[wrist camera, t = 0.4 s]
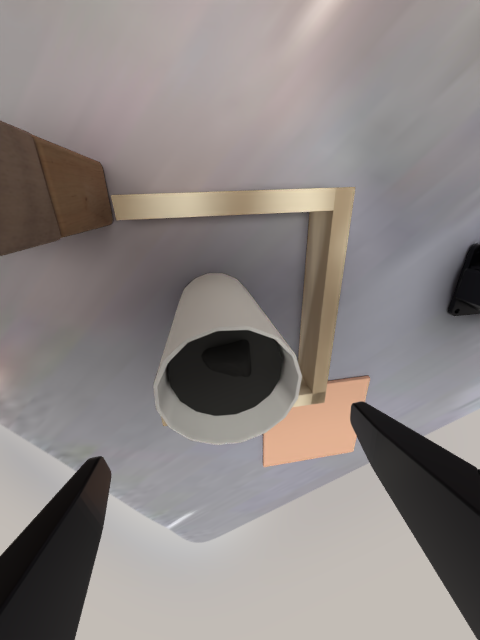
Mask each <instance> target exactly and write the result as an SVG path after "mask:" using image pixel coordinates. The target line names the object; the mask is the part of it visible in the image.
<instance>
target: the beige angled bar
mask: <svg viewBox="0 0 480 640" xmlns="http://www.w3.org/2000/svg"><path fill="white" fill-rule="evenodd" d="M354 194H355V187H344V188H313V189H283V190H253V191H223V192H192V193H162V194H132V195H111V199H112V203H113V207H114V212H115V216H116V220H134V219H156V218H178V217H201V216H223V215H245V214H267V213H289V212H309V225H308V238H307V251H306V264H305V277H304V290H303V303H302V315H301V328H300V341H299V354H298V364H299V368H300V371H301V374H302V380H301V385H300V390H299V396H298V399H297V401H296V402H295V404H294V405H293V407H298V406H305V405H312V404H318V403H324V402H325V396H326V389H327V382H328V375H329V368H330V361H331V354H332V347H333V340H334V333H335V326H336V319H337V312H338V305H339V298H340V291H341V284H342V277H343V270H344V263H345V256H346V249H347V242H348V236H349V229H350V222H351V215H352V208H353V201H354ZM161 418H162V417H161ZM162 422H163V426H168V425H167V424H166V422H165V421H164V419H163V418H162Z"/></svg>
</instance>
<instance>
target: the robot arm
mask: <svg viewBox="0 0 480 640" xmlns="http://www.w3.org/2000/svg"><path fill="white" fill-rule="evenodd" d="M448 313H449V314H451V315H453V316H461V315H470V314H479V313H480V244H475V245H473V246H472V247H471V248H470V250H469V253H468V256H467V259H466V262H465V264H464V267H463V270H462V273H461V276H460V279H459V282H458V284H457V287H456V290H455V293H454V296H453V299H452V302H451V305H450V307H449V311H448ZM350 422H351V425H352V427H353V430H354V432H355V434H356V436H357V438H358V440H359V442H360V444H361V446H362V448H363V450H364V452H365V454H366V456H367V458H368V460H369V462H370V464H371V466H372V468H373V469H374V471H375V473H376V475H377V476H378V478H379V480H380V481H381V483H382V484H383V486H384V487H385V489H386V491H387V493H388V494H389V496H390V498H391V499H392V501H393V502H394V504H395V506H396V507H397V509H398V511H399V512H400V514H401V515H402V517H403V519H404V520H405V522H406V523H407V525H408V527H409V529H410V530H411V532H412V533H413V535H414V537H415V538H416V540H417V542H418V543H419V545H420V546H421V548H422V550H423V551H424V553H425V555H426V556H427V558H428V559H429V561H430V563H431V564H432V566H433V568H434V569H435V571H436V572H437V574H438V576H439V577H440V579H441V581H442V582H443V584H444V586H445V587H446V589H447V591H448V592H449V594H450V595H451V597H452V598H453V600H454V602H455V604H456V605H457V607H458V608H459V610H460V612H461V613H462V615H463V617H464V618H465V620H466V622H467V623H468V625H469V626H470V628H471V630H472V631H473V633H474V635H475V636H476V638H477V639H478V640H480V469H478V470H477V468H476V467H475V466H473V465H471V464H470V463H468V462H466V461H464V460H463V459H461V458H459V457H458V456H456V455H454V454H452V453H451V452H449V451H447V450H446V449H444V448H442V447H441V446H439V445H437V444H435V443H434V442H432V441H430V440H428V439H427V438H425V437H424V436H422V435H420V434H418V433H417V432H415V431H413V430H412V429H410V428H408V427H406V426H405V425H403V424H401V423H400V422H398V421H396V420H394V419H393V418H391V417H389V416H388V415H386V414H384V413H383V412H381V411H379V410H377V409H376V408H374V407H372V406H371V405H369V404H367V403H365V402H363V401H360V402H355V403H352V405H351V412H350ZM110 482H111V471H110V468H109V467H108V465H107V463H106V461H105V460H104V458H103V457H102V456H98V457H93V458H90V459H88V460H87V461H86V462H85V463H84V464H83V465H82V466H81V467H80V469H79V470H78V471H77V472H76V473H75V474H74V475H73V477H72V478H71V479H70V480H69V481H68V482H67V483H66V484H65V485H64V486H63V487H62V489H61V490H60V491H59V492H58V493H57V494H56V495H55V496H54V498H52V500H51V501H50V502H49V503H48V504H47V505H46V506H45V507H44V508H43V510H42V511H41V512H40V513H39V514H38V515H37V516H36V517H35V518H34V519H33V520H32V522H31V523H30V524H29V525H28V526H27V527H26V528H25V529H24V530H23V532H22V533H21V534H20V535H19V536H18V537H17V538H16V539H15V540H14V541H13V543H12V544H11V545H10V546H9V547H8V548H7V549H6V550H5V552H4V553H3V554H2V555H1V556H0V640H75V636H76V632H77V628H78V624H79V621H80V617H81V613H82V609H83V605H84V601H85V597H86V593H87V589H88V585H89V581H90V577H91V574H92V569H93V566H94V561H95V558H96V554H97V550H98V546H99V542H100V539H101V534H102V530H103V525H104V520H105V514H106V507H107V501H108V495H109V488H110Z"/></svg>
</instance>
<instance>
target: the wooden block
mask: <svg viewBox="0 0 480 640" xmlns="http://www.w3.org/2000/svg"><path fill="white" fill-rule="evenodd" d="M112 221H113V218H112V213H111V208H110V203H109V198H108V193H107V188H106V182H105V177H104V172H103V167H102V166H101V164H100V162H97V161H95V160H93V159H90V158H88V157H85V156H83V155H80V154H78V153H76V152H73V151H71V150H68V149H66V148H63V147H61V146H58V145H56V144H54V143H51V142H49V141H46V140H44V139H41V138H39V137H36V136H34V135H32V134H30V133H28V132H26V131H24V130H21V129H19V128H17V127H14V126H12V125H9V124H7V123H4V122H2V121H0V256H3V255H6V254H10V253H14V252H17V251H21V250H25V249H28V248H32V247H36V246H39V245H43V244H47V243H50V242H54V241H57V240H59V239H60V238H62V237H66V236H70V235H74V234H78V233H81V232H85V231H89V230H93V229H97V228H100V227H104V226H108V225H110V224H112Z"/></svg>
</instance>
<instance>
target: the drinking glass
mask: <svg viewBox="0 0 480 640" xmlns="http://www.w3.org/2000/svg"><path fill="white" fill-rule="evenodd" d="M301 380H302V374H301V371H300V368H299V364H298V361H297V358H296V355H295V353H294V352H293V351H292V349H291V348H290V347H289V345H288V344H287V343H286V341H285V340H284V339H283V337H282V336H281V335H280V333H279V332H278V331H277V329H276V328H275V327H274V325H273V324H272V323H271V321H270V320H269V319H268V317H267V316H266V315H265V313H264V312H263V311H262V309H261V308H260V307H259V305H258V304H257V303H256V301H255V300H254V299H253V297H252V296H251V295H250V293H249V292H248V291H247V289H246V288H245V287H244V286H243V285H242V284H241V283H240V282H239V281H238V280H237V279H236V278H233V277H231V276H229V275H226V274H224V273H208V274H205V275H202V276H200V277H197V278H195V279H194V280H193V281H192V282H191V283H190V284H189V285H188V286H187V287H185V288H184V290H183V293H182V295H181V298H180V300H179V304H178V307H177V310H176V313H175V317H174V320H173V323H172V326H171V329H170V333H169V336H168V339H167V342H166V346H165V349H164V352H163V355H162V359H161V362H160V365H159V368H158V371H157V375H156V378H155V381H154V384H153V388H154V396H155V404H156V410H157V411H158V413H159V414H160V415H161V417H162V418H163V419H164V421H165V422H166V424H167V425H168V426H169V428H170V429H172V430H174V431H176V432H177V433H179V434H181V435H182V436H184V437H186V438H188V439H189V440H192V441H197V442H203V443H208V444H213V445H220V444H230V443H240V442H244V441H246V440H249V439H251V438H254V437H256V436H259V435H262V434H264V433H266V432H267V431H269V430H270V429H271V428H273V427H274V426H275V425H276V424H278V423H279V422H280V421H282V420H283V419H284V418H285V417H286V416H287V414H288V413H289V411H290V410H291V408H292V407H293V405H294V404H295V402H296V401H297V399H298V396H299V390H300V385H301Z"/></svg>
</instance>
